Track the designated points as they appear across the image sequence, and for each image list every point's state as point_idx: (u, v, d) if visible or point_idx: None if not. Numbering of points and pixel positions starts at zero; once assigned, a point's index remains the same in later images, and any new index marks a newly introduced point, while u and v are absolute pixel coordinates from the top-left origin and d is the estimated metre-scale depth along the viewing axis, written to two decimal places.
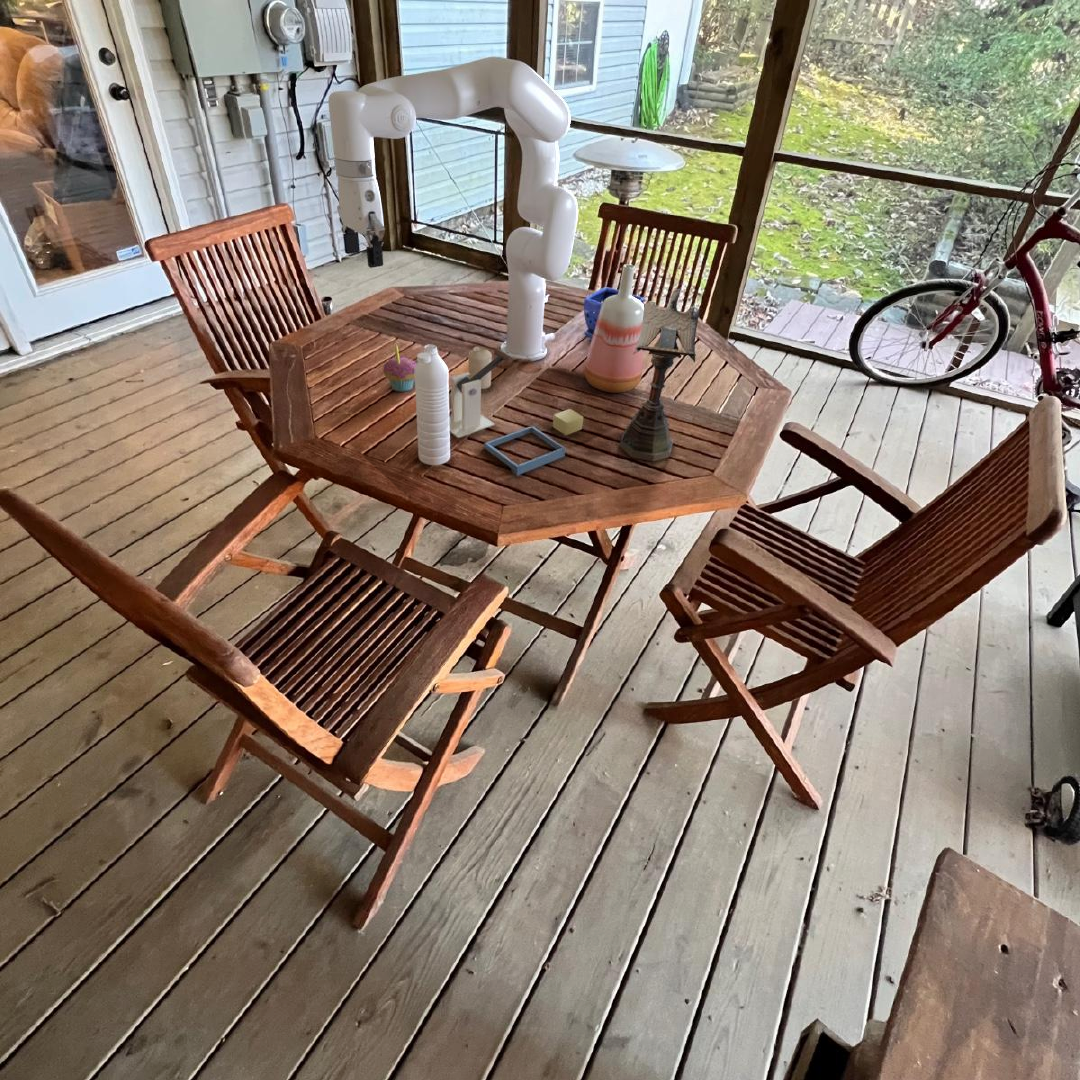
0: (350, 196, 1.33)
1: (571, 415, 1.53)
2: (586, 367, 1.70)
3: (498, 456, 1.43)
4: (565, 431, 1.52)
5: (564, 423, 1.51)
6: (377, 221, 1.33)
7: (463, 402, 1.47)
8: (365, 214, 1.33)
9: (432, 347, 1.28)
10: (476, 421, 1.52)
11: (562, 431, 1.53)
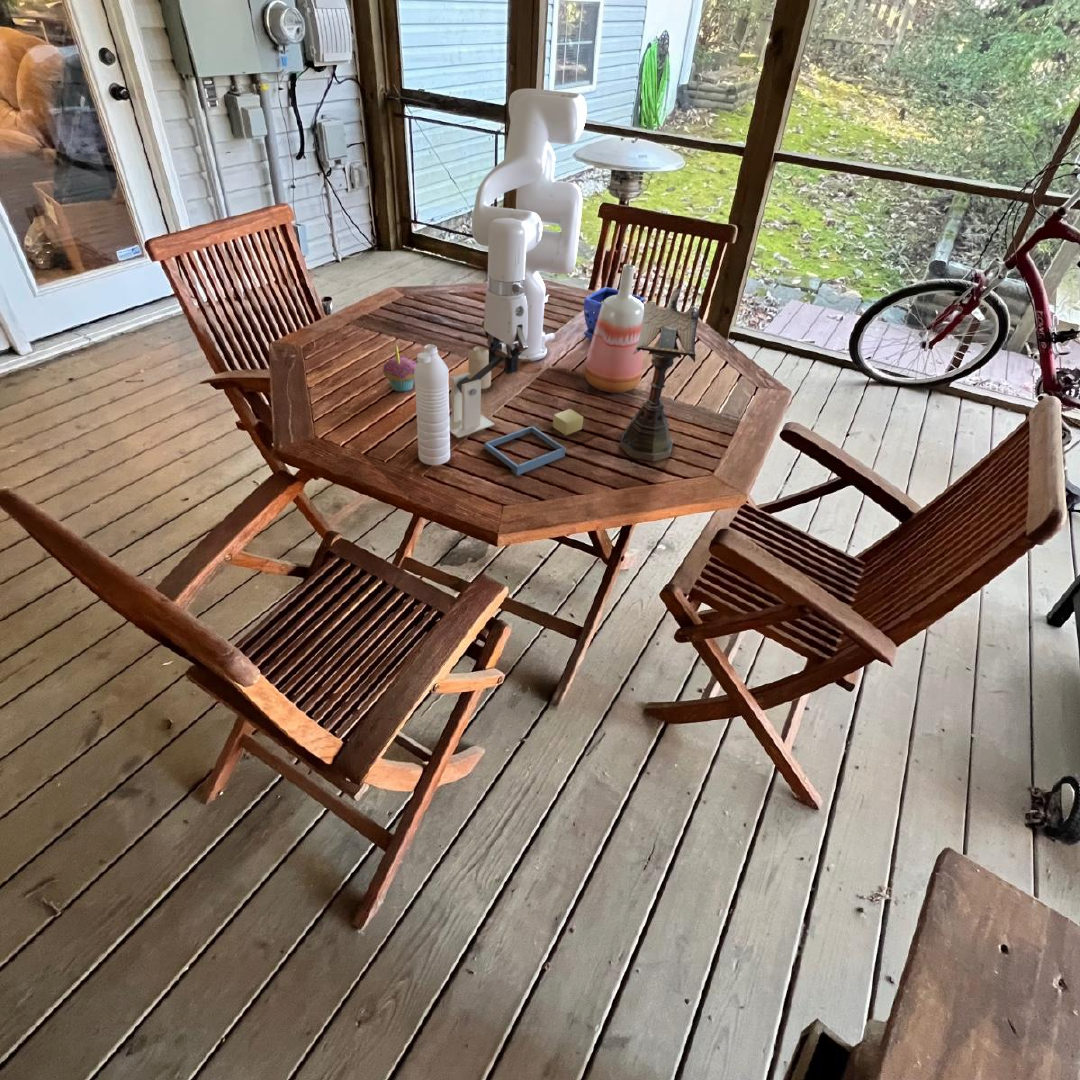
0: (500, 311, 1.41)
1: (571, 415, 1.53)
2: (586, 367, 1.70)
3: (498, 456, 1.43)
4: (565, 431, 1.52)
5: (564, 423, 1.51)
6: (522, 339, 1.43)
7: (463, 402, 1.47)
8: (514, 327, 1.41)
9: (432, 347, 1.28)
10: (476, 421, 1.52)
11: (562, 431, 1.53)
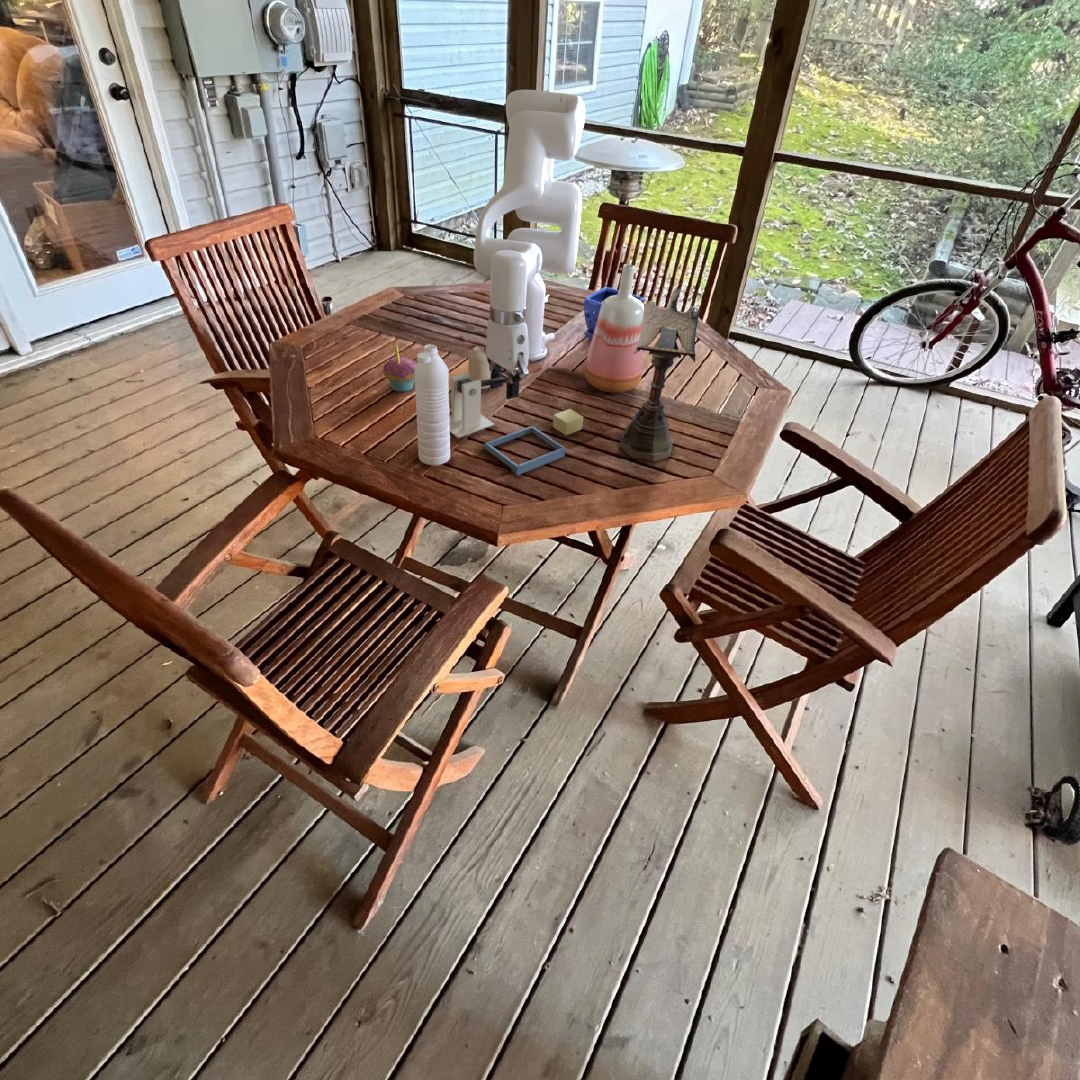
0: (502, 339, 1.45)
1: (571, 415, 1.53)
2: (586, 367, 1.70)
3: (498, 456, 1.43)
4: (565, 431, 1.52)
5: (564, 423, 1.51)
6: (523, 366, 1.47)
7: (463, 402, 1.47)
8: (515, 355, 1.46)
9: (432, 347, 1.28)
10: (476, 421, 1.52)
11: (562, 431, 1.53)
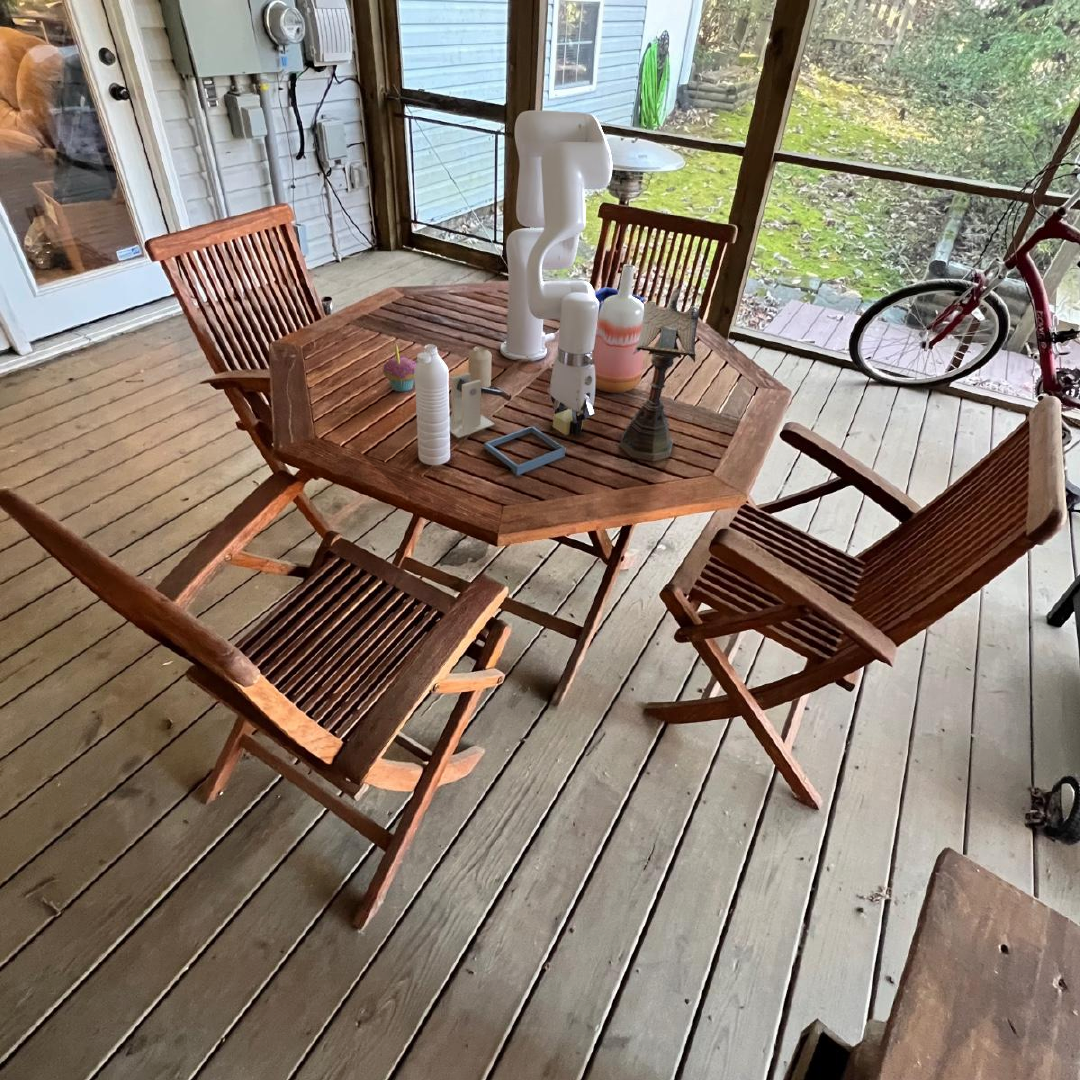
0: (569, 380, 1.45)
1: (571, 415, 1.53)
2: None
3: (498, 456, 1.43)
4: (565, 431, 1.52)
5: (564, 423, 1.51)
6: (589, 406, 1.46)
7: (463, 402, 1.47)
8: (582, 396, 1.45)
9: (432, 347, 1.28)
10: (476, 421, 1.52)
11: (562, 431, 1.53)
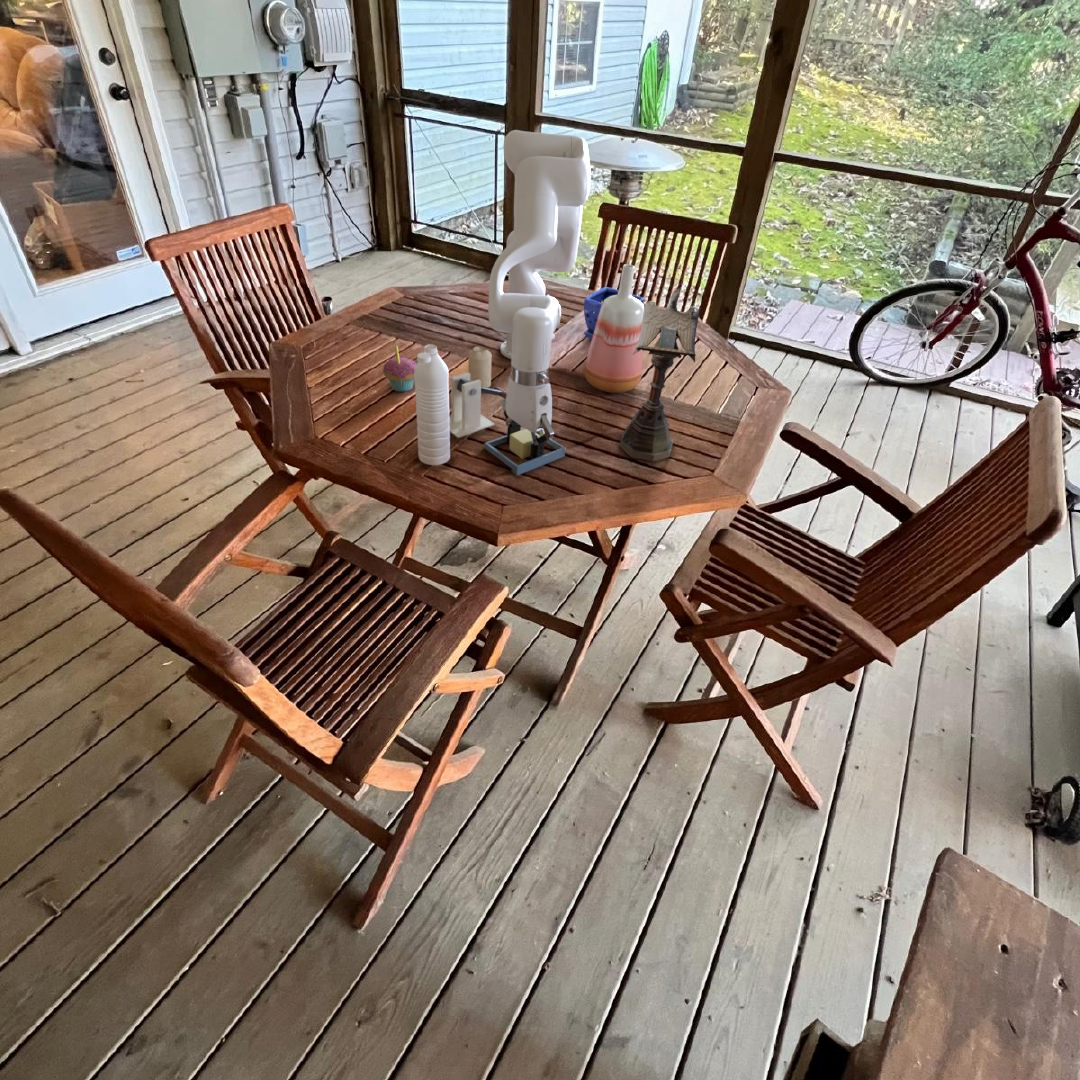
0: (524, 399, 1.36)
1: (528, 435, 1.44)
2: (586, 367, 1.70)
3: (498, 456, 1.43)
4: (521, 452, 1.43)
5: (520, 444, 1.42)
6: (548, 425, 1.37)
7: (463, 402, 1.47)
8: (538, 416, 1.36)
9: (432, 347, 1.28)
10: (476, 421, 1.52)
11: (519, 452, 1.44)
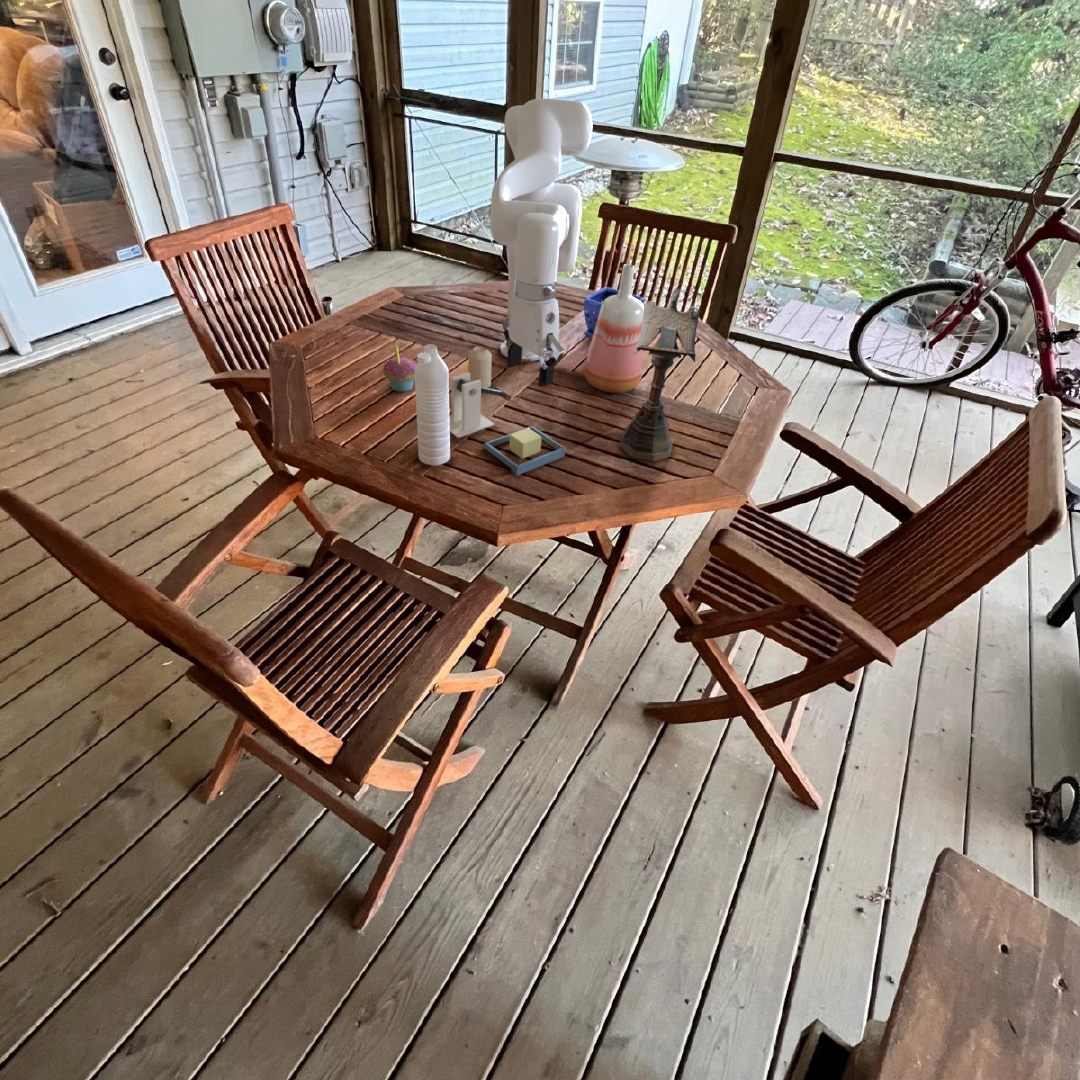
0: (528, 317, 1.25)
1: (528, 435, 1.44)
2: (586, 367, 1.70)
3: (498, 456, 1.43)
4: (521, 452, 1.43)
5: (520, 444, 1.42)
6: (556, 343, 1.26)
7: (463, 402, 1.47)
8: (544, 336, 1.26)
9: (432, 347, 1.28)
10: (476, 421, 1.52)
11: (519, 452, 1.44)
